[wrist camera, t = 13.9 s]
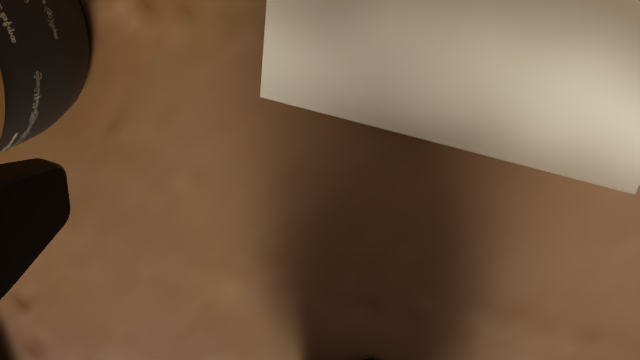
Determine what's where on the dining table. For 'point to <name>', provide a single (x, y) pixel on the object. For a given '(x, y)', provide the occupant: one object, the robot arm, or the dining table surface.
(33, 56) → the jar
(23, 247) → the robot arm
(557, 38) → the birch board
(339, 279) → the dining table surface
